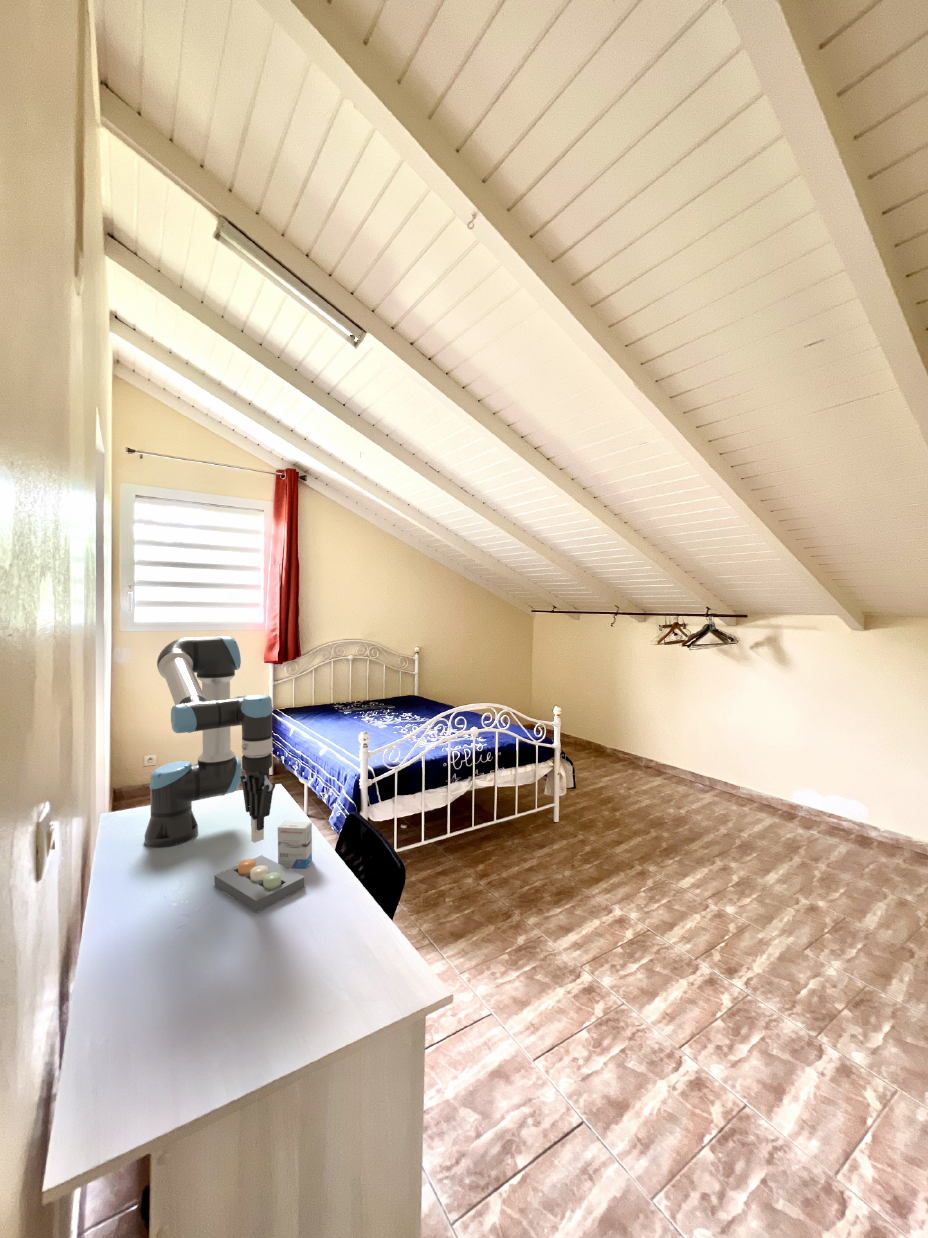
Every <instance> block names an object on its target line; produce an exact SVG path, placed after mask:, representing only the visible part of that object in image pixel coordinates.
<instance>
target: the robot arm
mask: <svg viewBox="0 0 928 1238" xmlns="http://www.w3.org/2000/svg"><path fill="white" fill-rule="evenodd" d="M237 642H238V641H236V640H235V638H234V637H232V636H225V635H213V636H212V635H211V636H195V637H192V636H191V637H190V636H189V637H187V636H186V637H180V638H177V639H175V640H173V641H171V642H170V643H168V644H167V645H166V646H165V647H164V648H162V650H161V651H160V653H159V655H158V657H157V660H156V666H157V671H158V673H159V675H160V676H161V677H162V678H163V679H165V681H166V683H167V687H168V689H169V692H170V694H171V697H172V700H173V703H174V706H172V707H171V709H170V723H171V724H170V725H171V729H172V731H173V732H174V733H175V734H183V733H186V734H187V733H188V734H189V733H190V734H191V733H194V732H201V731H202V753H201V754H200V755H198V756H197V763H195V764H192V763H191V761H189V760H181V761H180V760H177V761H172V762H169V763H166V764H163V765H161V766H159V767H157V768H155V769H154V770H153V771H152V772H151V775H150V777H149V778H150V780H149V781H150V782H149V785H148V786H149V790H150V795H149V796H150V819H149V821H148V824H147V827H146V830H145V833H144V844H145V845H146V846H148V847H151V848H167V847H168V848H169V847H172V846H177V845H181V844H183V843H186V842H188V841H191V840H192V839H194V838H195V837H196V836H197V835H198V833H199V826H198V821H197V820H196V817H195V815H194V812H193V810H192V809H193V808H192V806H193V804H192V802H196V801H200V800H205V799H209V798H214V797H215V798H216V797H218V796H219V797H221V796H225V795H227V794H232V793H234V792H236V791H237V790H238V789H239V786H240V784H241V786H242V792H243V793H242V794H243V799H244V809H245V812H246V813H249V814H248V815H249V816H250V826H251V827H250V828H251V829H250V830H251V831H250V832H251V835H250V837H251V842H252V843H253V844H254V843H256V844H257V843H258V842H261V841H264V839H265V837H264V835H265V833H264V832H265V818H266V817H268V816H270V813H271V808H272V802H273V801H272V800H273V793H274V790H275V788H276V783H275V782H271V781H270V774H269V771H270V769H271V768H272V767H273V753H272V752H273V710H274V708H273V701H272V700H273V699H272V697H271V696H270V695H268V694H261V693H260V694H249V695H246V694H245V695H243V694H242V695H241V694H240V695H237V696H235V697H234V698H231V680H232V679H234V677H235V675H236V672H235V671H238V670H240V668H241V664H242V658H241V652H240V648H239V645H238V643H237ZM195 673H196V674H195ZM198 680H199V681H200V682H201V684H200V683H199V681H198ZM200 685H201V686H200ZM239 726H241V742H242V743H241V750H242V751H241V753H242V756H241V759H240V758H239V757H237V756H236V753H235V752H234V751H233V749H232V750H231V747H232V746H231V727H239ZM242 771H244V772H245V774H242Z"/></svg>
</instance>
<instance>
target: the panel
mask: <svg viewBox="0 0 928 1238" xmlns="http://www.w3.org/2000/svg"><path fill="white" fill-rule="evenodd" d="M253 859H254V860H255V867H256V866H261V865H264V866H267V867H268V874H269V873H272V872H278V873H280V874H281V885H280V886H278V887H276V888H274V889H272V890H270V891H269V890H267V889H265V888H264V887H263V880H262V881H260V882H257V883H255V882H253V881H251V880H250V873H249V874H247V875H244V876H243V875H241V874H239V873H238V865H236V866H235V865H234V866H233V867H231V868H228V869H226V870H224V871H221V872H218V873H217V874H214V876H213V877H214V878H213V881H214V884H213V885H214V886H213V887H215V888H216V889H218V890H220V892H222V893H224V894H226V895H227V896H229V897H230V898H232V899H233V900H236V901H237V902H239V903H240V904H242V905H243V906H245V907H247V908H248V909H249V910H251V911H253V912H255V913H256V914H257V913H259V912H261V911H264V910H265V909H267V908H269V907H270V906H272V905H275V904H277V903H279V902H280V901H282V900H284V899H286V898H288V897H290V896H292V895H293V894H296V893H298V892H299V891H301V890H303V889H305V888H306V887H305V883H306V882H305V876H304V875H302V874H299V873H297V872H295V871H294V870H291V869H290V868H286V867H284V866H282V865H280V864H278V862H276V861H274V860H272V859H270V858H268V857H266V856H264V855H263V854H262V855H258V856H256V857H255V858H253Z"/></svg>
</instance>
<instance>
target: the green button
mask: <svg viewBox="0 0 928 1238" xmlns="http://www.w3.org/2000/svg"><path fill="white" fill-rule="evenodd" d="M280 885H281V874H280V873H278V872H272V873H269V874H266V875H265V876H264V877H263V887H264V888H265V889H267V890H269V891H270V890H272V889H274V888H276V887H278V886H280Z"/></svg>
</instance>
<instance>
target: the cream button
mask: <svg viewBox="0 0 928 1238" xmlns="http://www.w3.org/2000/svg"><path fill="white" fill-rule="evenodd" d="M266 874H268V867H267V866H264V865H261V866H256V867H254V868H252V869H251V870H250V880H251V881H253V882H255V883H257V882H260V881H262V880H263V877H264V876H265V875H266Z"/></svg>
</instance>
